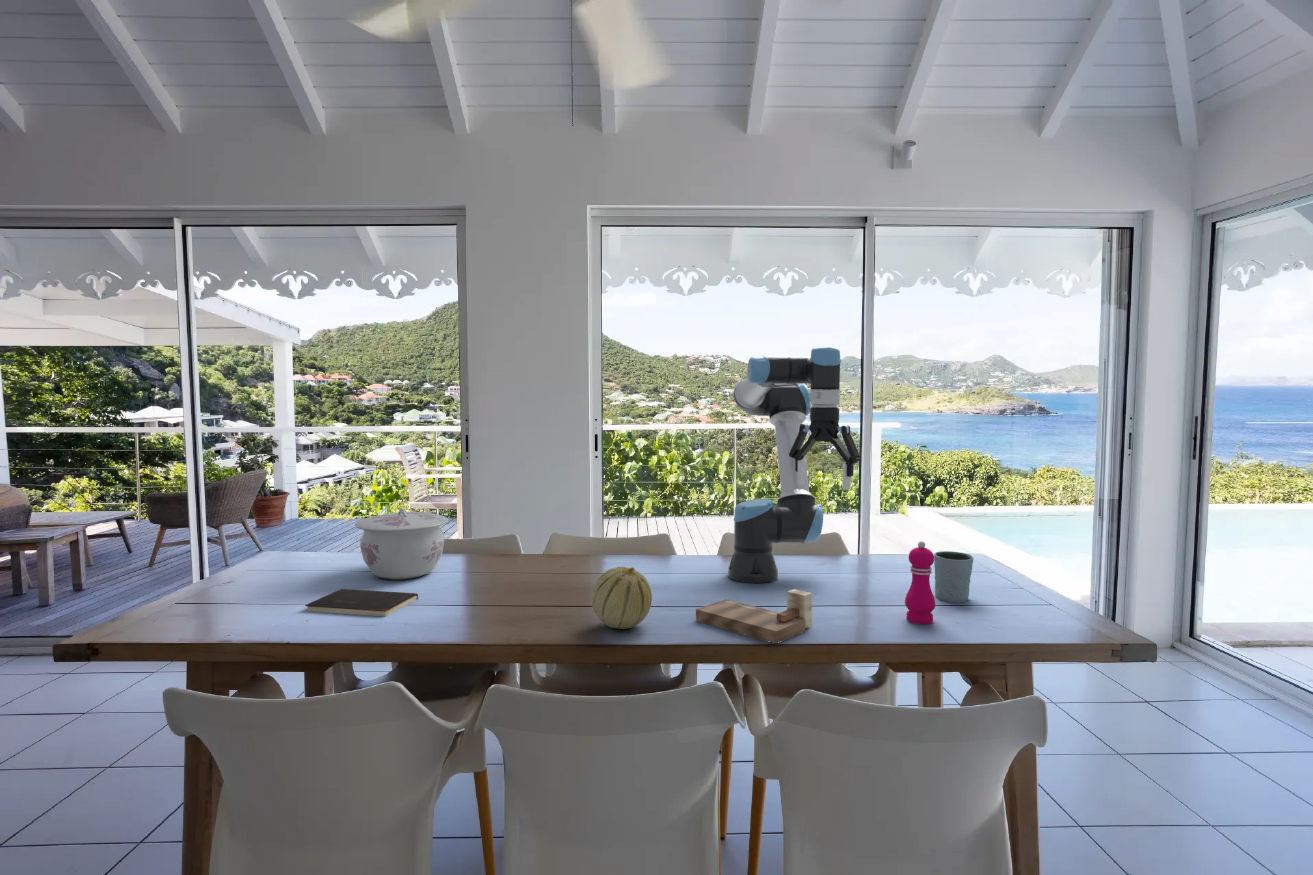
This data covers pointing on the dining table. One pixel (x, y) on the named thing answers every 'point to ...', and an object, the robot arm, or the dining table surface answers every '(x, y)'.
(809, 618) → the marking gauge
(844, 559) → the dining table surface
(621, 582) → the cantaloupe
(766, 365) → the robot arm
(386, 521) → the chamber pot
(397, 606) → the hardcover book
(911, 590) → the pepper mill
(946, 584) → the green ceramic cup
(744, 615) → the walnut board
